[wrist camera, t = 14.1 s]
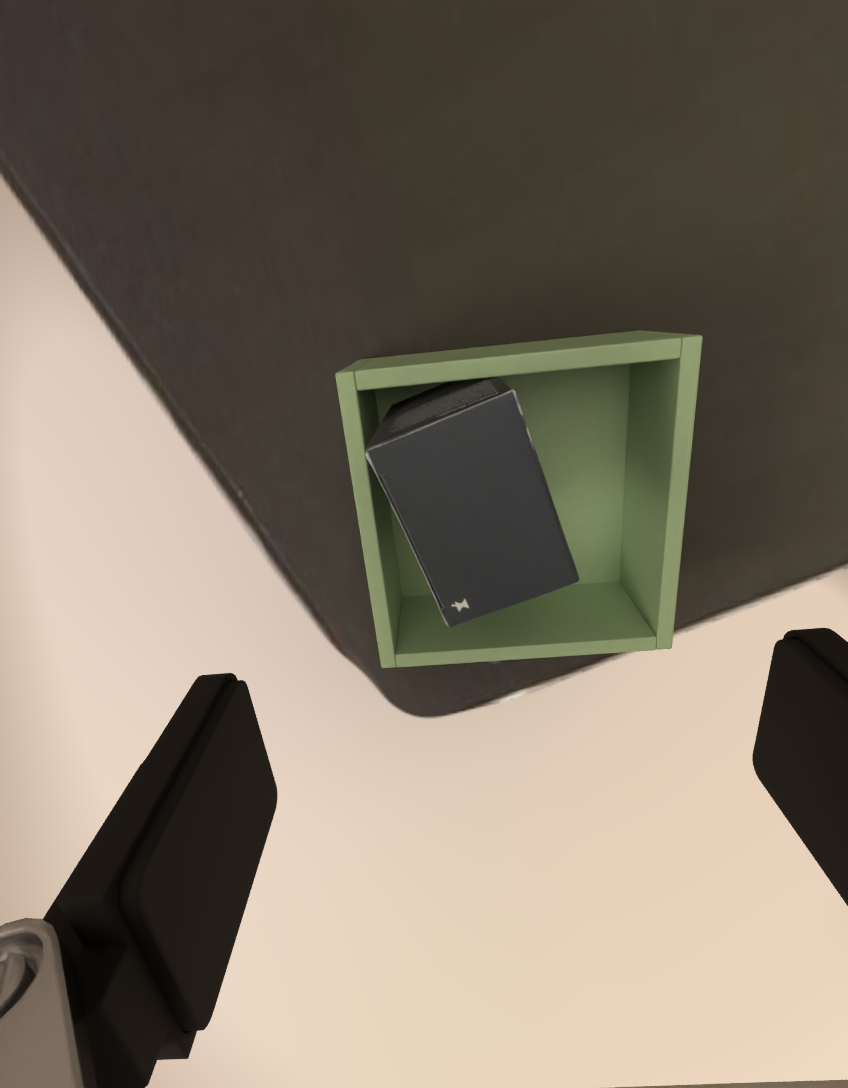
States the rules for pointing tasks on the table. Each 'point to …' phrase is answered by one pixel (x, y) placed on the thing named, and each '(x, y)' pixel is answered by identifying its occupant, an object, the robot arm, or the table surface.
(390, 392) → the bin
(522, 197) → the table surface
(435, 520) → the box
